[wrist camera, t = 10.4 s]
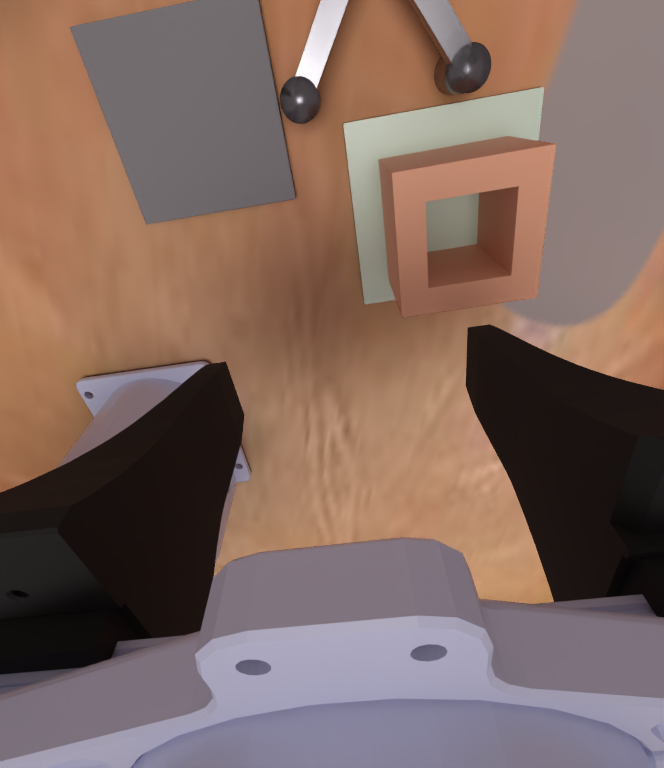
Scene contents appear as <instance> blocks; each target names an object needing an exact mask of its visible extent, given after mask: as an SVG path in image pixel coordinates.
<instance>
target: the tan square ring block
mask: <svg viewBox="0 0 664 768" xmlns="http://www.w3.org/2000/svg"><path fill="white" fill-rule="evenodd" d="M555 150H556V144H554V143H548V142H541V141H536V140H530V139H524V138H518V137H511V136H504V137H499V138H493V139H487V140H482V141H476V142H471V143H465V144H460V145H454V146H449V147H443V148H438V149H432V150H427V151H421V152H415V153H410V154H404V155H399V156H393V157H388V158H382V159H378V161H379V172H380V184H381V196H382V207H383V219H384V231H385V242H386V254H387V266H388V277H389V282H390V285H391V288H392V291H393V294H394V296H395V299H396V302H397V305H398V308H399V310H400V313H401V316H402V318H404V317H411V316H417V315H424V314H431V313H437V312H444V311H451V310H457V309H464V308H471V307H477V306H484V305H491V304H497V303H504V302H511V301H517V300H524V299H530V298H537V294H538V286H539V279H540V270H541V263H542V255H543V245H544V239H545V231H546V222H547V214H548V206H549V198H550V189H551V182H552V174H553V165H554V158H555ZM475 193H479V203H478V231H477V244H474V245H468V246H462V247H455V248H449V249H443V250H437V251H431V252H427V230H426V202H428V201H434V200H440V199H446V198H452V197H458V196H463V195H469V194H475Z"/></svg>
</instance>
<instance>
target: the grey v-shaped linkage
mask: <svg viewBox="0 0 664 768" xmlns="http://www.w3.org/2000/svg"><path fill="white" fill-rule="evenodd" d="M408 1H409V3H410V4H411V6H412V8H413V9H414V11H415V13H416V14H417V16H418V18H419V19H420V21H421V23H422V24H423V26H424V28H425V29H426V31H427V33H428V34H429V36H430V38H431V39H432V41H433V43H434V44H435V46H436V48H437V49H438V51H439V53H440V54H441V56H442V57H441V59H440V60H439V62H438V63H437V66H436V69H435V74H434V78H435V83H436V86H437V88H438V89H439V90H440V91H441V92H442V93H444V94H447V95H453V94H464V93H471V92H474V91H476V90H478V89H479V88H480V87H481V86H482V85H483V84H484V83H485V81H486V80H487V78H488V76H489V73H490V69H491V57H490V54H489V51H488V50H487V48H486V47H485V46H484V45H482V44H480V43H477V42H471V40H470V39H469V37H468V35H467V33H466V32H465V30H464V28H463V26H462V24H461V23H460V21H459V19H458V17H457V16H456V14H455V12H454V10H453V8H452V7H451V5H450V3H449V1H448V0H408ZM348 2H349V0H321V1H320V4H319V7H318V10H317V13H316V16H315V19H314V22H313V25H312V28H311V31H310V34H309V37H308V40H307V43H306V46H305V49H304V52H303V55H302V58H301V61H300V64H299V67H298V70H297V73H296V76H295V77H292V78H290V79H289V80H288V81H287V82H286V83H285V84H284V86H283V88H282V90H281V94H280V103H281V108H282V110H283V112H284V114H285V115H286V117H287V118H288V119H289V120H291V121H292V122H295V123H298V124H303V123H307V122H309V121H310V120H312V119H313V118H314V117H315V116H316V114H317V113H318V111H319V108H320V95H319V92H318V90H317V87H318V85H319V82H320V79H321V76H322V74H323V71H324V68H325V65H326V63H327V60H328V57H329V54H330V52H331V49H332V46H333V43H334V41H335V38H336V35H337V32H338V30H339V27H340V24H341V21H342V18H343V16H344V13H345V10H346V7H347V5H348Z"/></svg>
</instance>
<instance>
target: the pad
mask: <svg viewBox="0 0 664 768" xmlns="http://www.w3.org/2000/svg"><path fill="white" fill-rule="evenodd" d="M543 94H544V87H539V88H534V89H528V90H523V91H517V92H512V93H506V94H501V95H495V96H490V97H484V98H479V99H473V100H468V101H462V102H457V103H451V104H446V105H440V106H435V107H429V108H424V109H418V110H413V111H407V112H402V113H396V114H391V115H386V116H380V117H375V118H369V119H364V120H358V121H353V122H347V123H343V127H344V136H345V144H346V153H347V161H348V170H349V178H350V187H351V195H352V204H353V212H354V221H355V229H356V237H357V246H358V254H359V263H360V271H361V280H362V288H363V297H364V304H372V303H379V302H385V301H392V300H396V299H395V296H394V294H393V291H392V288H391V285H390V282H389V277H388V266H387V254H386V242H385V231H384V219H383V207H382V196H381V184H380V172H379V161H378V159H382V158H388V157H393V156H399V155H404V154H410V153H415V152H421V151H427V150H432V149H438V148H443V147H449V146H454V145H460V144H465V143H471V142H476V141H482V140H487V139H493V138H499V137H504V136H511V137H518V138H524V139H530V140H536V141H538V140H539V131H540V122H541V112H542V103H543ZM478 203H479V193H475V194H469V195H463V196H458V197H452V198H446V199H440V200H434V201H428V202H426V230H427V252H431V251H437V250H443V249H449V248H455V247H462V246H468V245H474V244H477V231H478Z"/></svg>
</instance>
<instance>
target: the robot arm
mask: <svg viewBox="0 0 664 768" xmlns="http://www.w3.org/2000/svg"><path fill="white" fill-rule="evenodd" d="M76 388H77V390H78V392H79V393H80V395H81V397H82V398H83V400H84V401H85V403H86V405H87V406H88V408H89V410H90V411H91V413H92V415H93V416H94V419H93V420H92V421H91V423H90V424H89V425H88V427H87V428H86V429H85V431H84V432H83V433H82V435H81V436H80V437H79V439H78V440H77V441H76V443H75V444H74V445H73V447H72V448H71V449H70V451H69V452H68V453H67V455H66V456H65V457H64V459H63V460H62V461H61V463H60V464H59V465H58V467H57V468H56V469H54V470H52V471H50V472H48V473H46V474H43V475H41V476H39V477H37V478H35V479H33V480H30V481H28V482H26V483H24V484H21V485H19V486H17V487H14V488H12V489H9V490H7V491H4V492H2V493H0V768H664V390H661V389H657V388H653V387H649V386H645V385H641V384H637V383H633V382H629V381H625V380H622V379H618V378H615V377H611V376H608V375H605V374H602V373H599V372H596V371H593V370H590V369H587V368H584V367H582V366H579V365H576V364H574V363H571V362H569V361H567V360H564V359H562V358H559V357H557V356H555V355H552V354H550V353H548V352H546V351H544V350H542V349H539V348H537V347H535V346H533V345H531V344H529V343H527V342H525V341H523V340H521V339H519V338H517V337H515V336H513V335H511V334H509V333H507V332H505V331H503V330H501V329H499V328H497V327H494V326H492V325H483V326H476V327H469V328H468V337H467V368H466V388H467V391H468V394H469V397H470V400H471V402H472V405H473V408H474V411H475V413H476V415H477V417H478V419H479V421H480V423H481V425H482V427H483V429H484V431H485V433H486V434H487V436H488V438H489V440H490V442H491V444H492V446H493V448H494V449H495V451H496V453H497V455H498V457H499V459H500V461H501V463H502V464H503V466H504V468H505V470H506V472H507V474H508V476H509V478H510V480H511V483H512V485H513V487H514V490H515V492H516V495H517V498H518V500H519V503H520V505H521V508H522V510H523V513H524V515H525V518H526V521H527V524H528V526H529V529H530V532H531V535H532V537H533V540H534V543H535V545H536V548H537V551H538V554H539V557H540V560H541V563H542V566H543V569H544V572H545V575H546V578H547V581H548V584H549V587H550V590H551V593H552V596H553V599H554V602H550V603H539V604H526V603H516V602H506V601H497V600H487V599H479V598H478V594H477V591H476V588H475V585H474V581H473V578H472V575H471V572H470V569H469V567H468V565H467V562H466V560H465V558H464V556H463V553H461V552H459V551H457V550H455V549H453V548H451V547H449V546H447V545H445V544H443V543H441V542H439V541H437V540H434V539H423V538H407V537H401V538H391V539H382V540H372V541H362V542H353V543H343V544H334V545H324V546H314V547H305V548H295V549H286V550H276V551H267V552H259V553H256V554H252V555H249V556H245V557H242V558H239V559H235V560H233V561H231V562H229V563H228V564H227V565H226V566H225V567H224V568H223V569H222V570H221V571H220V572H219V573H218V574H217V575H216V576H215V577H214V578H213V576H214V568H215V563H216V561H217V558H218V556H219V553H220V549H221V545H222V541H223V537H224V532H225V528H226V524H227V520H228V516H229V511H230V507H231V503H232V499H233V495H234V491H235V486H236V483H237V482H245V481H248V480H249V479H250V477H251V471H250V469H249V466H248V463H247V460H246V458H245V455H244V452H243V450H242V447H241V440H242V432H243V423H244V413H243V410H242V407H241V404H240V401H239V398H238V395H237V393H236V390H235V387H234V384H233V381H232V378H231V375H230V372H229V369H228V367H227V364H226V362H221V363H214V364H209V363H207V362H205V361H199V362H192V363H185V364H177V365H170V366H163V367H156V368H149V369H142V370H135V371H128V372H121V373H114V374H107V375H100V376H93V377H86V378H82V379H80V380H79V381H78V382H77V383H76ZM88 392H91V393H92V394H93V395H91V394H89V393H88ZM238 464H241V465H238Z"/></svg>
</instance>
